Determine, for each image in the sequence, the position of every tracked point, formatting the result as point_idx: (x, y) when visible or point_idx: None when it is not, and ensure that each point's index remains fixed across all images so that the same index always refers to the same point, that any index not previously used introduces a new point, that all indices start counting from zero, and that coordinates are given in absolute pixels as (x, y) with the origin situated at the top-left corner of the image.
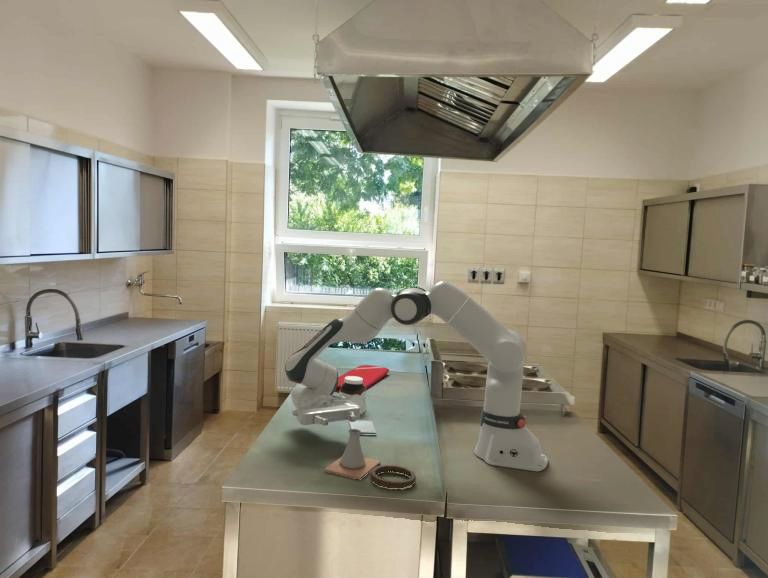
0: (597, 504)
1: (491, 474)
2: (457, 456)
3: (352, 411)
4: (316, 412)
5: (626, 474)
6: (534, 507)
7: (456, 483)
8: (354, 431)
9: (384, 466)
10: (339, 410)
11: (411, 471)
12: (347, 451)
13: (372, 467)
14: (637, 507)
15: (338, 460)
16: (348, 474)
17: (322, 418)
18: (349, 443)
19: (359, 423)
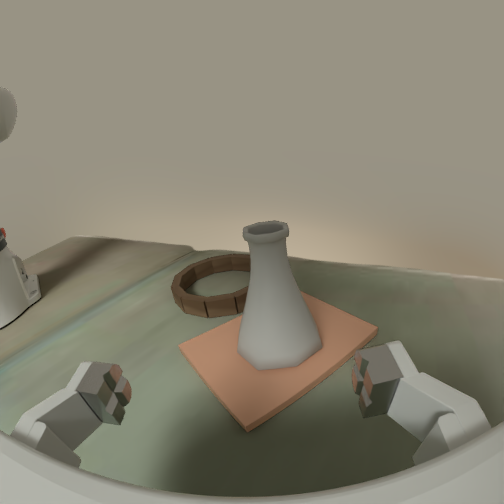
0: (87, 242)
1: (72, 282)
2: (28, 328)
3: (15, 429)
4: (483, 448)
5: None
6: (131, 240)
7: (136, 272)
8: (258, 244)
9: (212, 296)
10: (100, 478)
11: (178, 276)
12: (300, 293)
13: (230, 321)
14: (75, 239)
15: (313, 374)
16: (317, 300)
17: (407, 370)
18: (291, 271)
19: None
